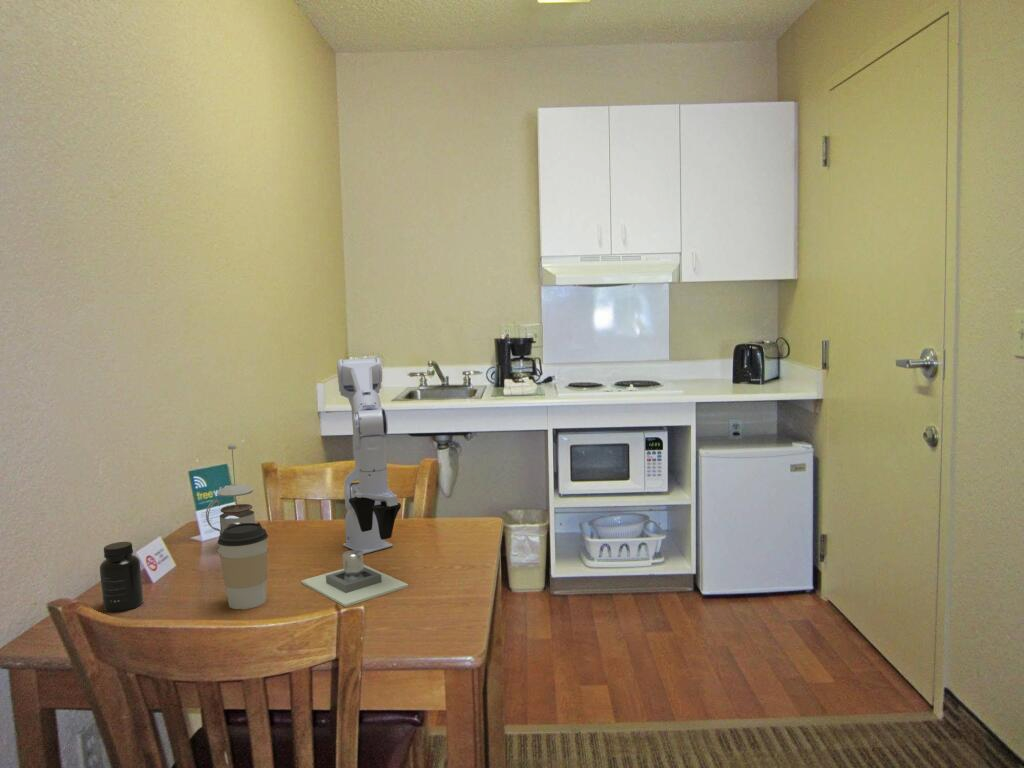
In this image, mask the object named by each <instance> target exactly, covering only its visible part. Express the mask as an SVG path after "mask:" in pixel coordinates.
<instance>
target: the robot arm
mask: <svg viewBox="0 0 1024 768" xmlns="http://www.w3.org/2000/svg"><path fill="white" fill-rule="evenodd" d="M336 364H337V366H336V369H337V382H338V392H340V396H341V397H344V398H347V399H348V401H349V404H350V408H351V420H352V435H353V449H354V465H355V467H354V468H353V469H352V470H350V472H349V473H347V474H346V475H345V478H344V486H343V487H344V488H343V489H344V490H343V491H344V504H345V505H344V506H345V509H347V510H348V511H347V513H346V514H345V519H344V522H345V525H344V526H345V542H344V543H342V546H344V547H346V548H348V549H350V550H360V551H363V555H366V554H370V553H372V552H376V551H380V550H383V549H387V548H391V547H393V543H390V542H388V541H386V540H387V539H391V538H392V536H393V530H394V525H395V521H396V518H397V516H398V513H399V511H400V510H401V508H402V504H401V503H400V502H398V495H397V494H395V493H393V492H392V490H391V489H390V488H389V482H388V463H387V461H388V460H387V445H386V444H387V443H386V440H387V439H386V438H387V436H388V430H389V428H388V427H389V426H388V425H389V424H388V415H387V412H386V408H385V407H383V406H382V404H381V398H380V395H379V393H380V390H381V387H382V382H383V367H382V360H381V359H380V358H379V357H372V358H371V357H369V358H351V359H349V358H348V359H342V358H340V359H338V360H337V362H336ZM356 481H358V482H356Z"/></svg>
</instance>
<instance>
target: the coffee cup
mask: <svg viewBox="0 0 1024 768" xmlns="http://www.w3.org/2000/svg"><path fill="white" fill-rule="evenodd" d="M235 524H236V525H232V526H229V527H227V528H225V529H224V531H223V533H222V534H221V535H220V534H219V535H218V536H219V537H218V540H217V544H218V546H219V547H220V553H219V557H220V559H219V560H220V563H221V571H222V576H223V583H224V586H225V590H226V596H227V602H228V607H229V608H230V609H233V610H238V609H241V610H248V609H249V610H251V609H254V608H257V607H259V606H262V605H264V604H265V603H266V602H267V580H268V554H269V553H268V551H269V550H268V537H269V534H268V533H267V530H266V529H265V528H264V527H263V526H262V525H261V523H260V522H257V523H256V522H255V523H235ZM219 547H218V548H219ZM241 610H240V611H241Z"/></svg>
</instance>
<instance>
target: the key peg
mask: <svg viewBox="0 0 1024 768" xmlns="http://www.w3.org/2000/svg"><path fill="white" fill-rule="evenodd" d="M364 565H365V564H364V554H363V551H360V550H352V549H350V550H348V551H344V552H342V567H343V568H342V569H343V571H344V581H346V582H351V581H354V580H358V579H361V578H364Z"/></svg>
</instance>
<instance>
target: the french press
mask: <svg viewBox="0 0 1024 768" xmlns="http://www.w3.org/2000/svg"><path fill="white" fill-rule="evenodd" d="M227 448H228V450H231V457H232V458H231V459H232V471H233V484H230V485H226V486H224V487H222V488H221V489H219V490H218V491H217V494H216V495H217V496H218V497H222V498H223V497H224V498H228V497H229V498H231V497H232V498H233V497H234V498H235V499H234V500H235V503H234V504H231V505H226V506H223V507H222V508H221V509H220V510H219V511H220V512H221V514H219V525H220V528H217V527H214V526H213V525H212V524H211V522H210V511H211V509H212V507H213V506H214V504H217V506H219V507H220V506H221V501H220V500H219V499H218V498H216V499H214V500H212V501H211V502H210V503H209V504H208V506H207V508H206V511H205V519H206V523H207V524H208V525H209V527H210V528H211V529H213V530H214V531H217V532H219V536H220V535H221V534H222V533H223V531H224V529H225V528H227V527H229V526H232V525H236V524H242V523H256V519H255V518H256V517H255V511H254V510H251V509H253V505H251V504H250V503H238V502H237V497H240V496H245V495H248V494H252V493H253V492H254V488H253V487H252V486H249V484H248V485H247V484H242V483H236V478H235V476H236V475H235V465H234V464H235V463H234V451H233V450H237V445H236V444H234V443H231V444H229V445H228V446H227ZM232 516H233V517H234V518H231V517H232ZM227 517H230V518H227ZM217 553H219V554H221V553H220V547H218V548H217Z"/></svg>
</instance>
